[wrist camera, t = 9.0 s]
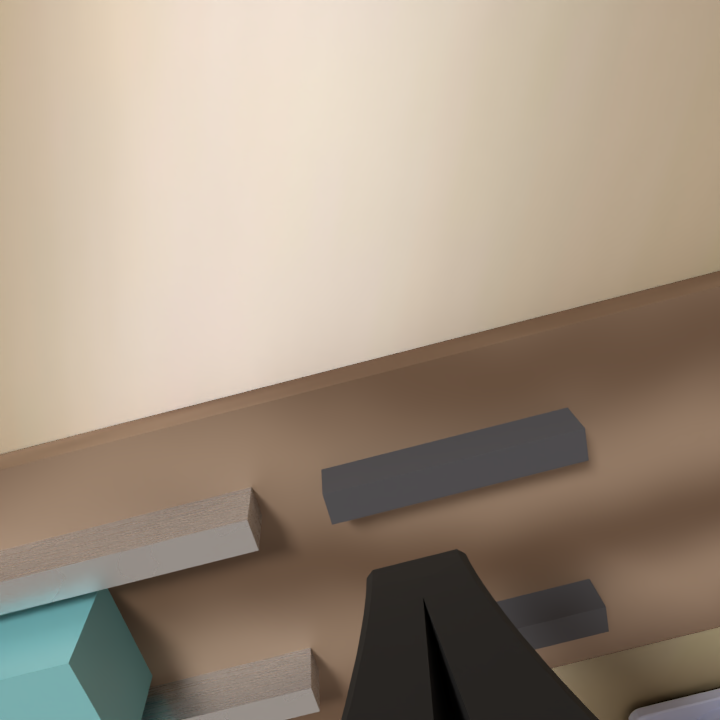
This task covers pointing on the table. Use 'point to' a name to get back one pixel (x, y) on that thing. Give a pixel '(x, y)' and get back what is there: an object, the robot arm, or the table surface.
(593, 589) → the grey blocks
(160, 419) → the base board
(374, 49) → the table surface
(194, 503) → the grey slab
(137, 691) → the plug
